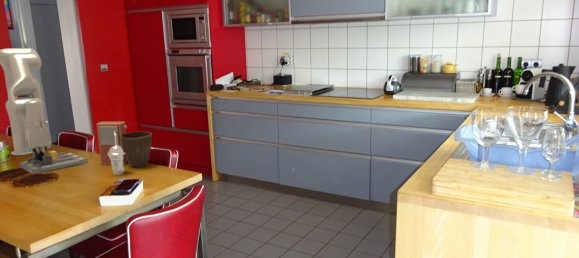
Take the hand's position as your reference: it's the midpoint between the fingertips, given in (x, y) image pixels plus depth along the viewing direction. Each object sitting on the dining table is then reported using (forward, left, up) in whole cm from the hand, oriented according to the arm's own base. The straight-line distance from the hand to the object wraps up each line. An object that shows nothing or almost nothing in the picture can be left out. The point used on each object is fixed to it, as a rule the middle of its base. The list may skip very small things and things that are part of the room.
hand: (41, 160), depth 221 cm
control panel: (+22, +28, -4) cm, 36 cm away
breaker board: (0, +6, -4) cm, 7 cm away
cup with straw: (+41, +21, -4) cm, 46 cm away
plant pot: (+36, +34, -4) cm, 49 cm away
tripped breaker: (0, +6, -1) cm, 6 cm away
